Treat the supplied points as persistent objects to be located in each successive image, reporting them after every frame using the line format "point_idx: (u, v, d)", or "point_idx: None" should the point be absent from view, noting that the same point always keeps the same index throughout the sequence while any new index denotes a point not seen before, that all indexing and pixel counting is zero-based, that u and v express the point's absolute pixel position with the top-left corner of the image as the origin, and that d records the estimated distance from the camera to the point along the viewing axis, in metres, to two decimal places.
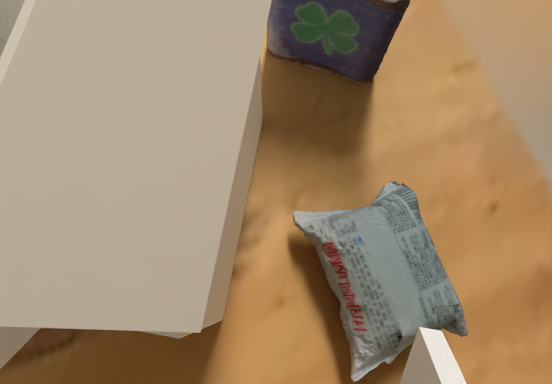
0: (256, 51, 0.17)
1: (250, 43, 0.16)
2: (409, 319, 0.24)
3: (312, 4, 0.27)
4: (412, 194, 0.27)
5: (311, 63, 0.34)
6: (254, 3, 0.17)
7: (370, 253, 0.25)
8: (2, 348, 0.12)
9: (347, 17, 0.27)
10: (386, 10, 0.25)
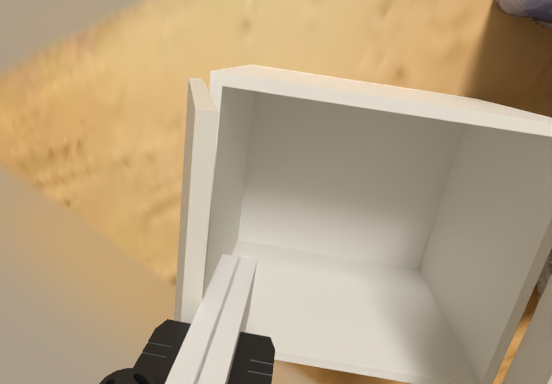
0: None
1: None
2: None
3: None
4: None
5: (548, 21, 0.28)
6: None
7: None
8: None
9: None
10: None
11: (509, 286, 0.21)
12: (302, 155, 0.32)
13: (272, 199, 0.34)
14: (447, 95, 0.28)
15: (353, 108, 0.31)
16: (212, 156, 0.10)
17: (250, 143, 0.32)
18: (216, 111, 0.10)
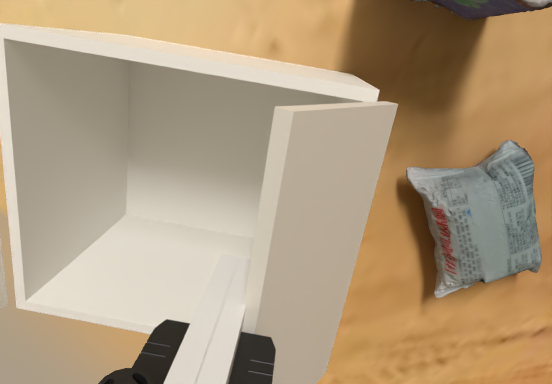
0: (376, 179, 0.18)
1: (372, 181, 0.17)
2: (494, 272, 0.30)
3: None
4: (531, 167, 0.28)
5: None
6: (379, 141, 0.16)
7: (475, 224, 0.29)
8: None
9: None
10: (527, 8, 0.20)
11: None
12: (181, 129, 0.32)
13: (156, 173, 0.34)
14: None
15: (227, 81, 0.30)
16: None
17: (129, 115, 0.32)
18: None
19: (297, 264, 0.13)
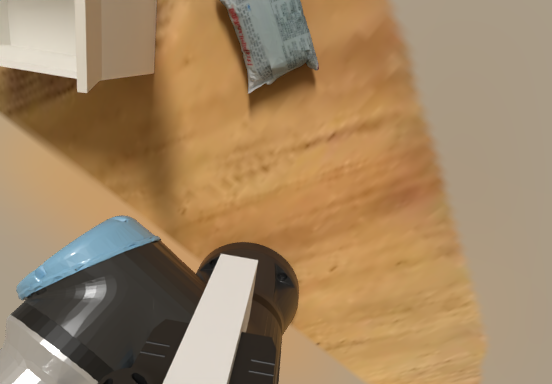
0: None
1: None
2: (275, 58, 0.41)
3: None
4: None
5: None
6: None
7: (254, 16, 0.40)
8: None
9: None
10: None
11: None
12: None
13: (29, 8, 0.45)
14: None
15: None
16: None
17: None
18: None
19: None
